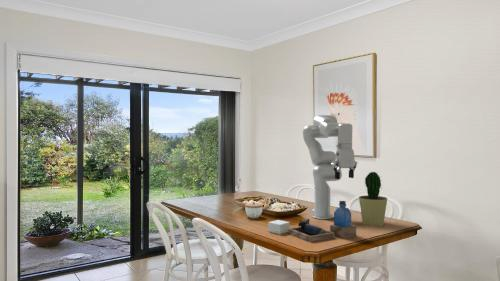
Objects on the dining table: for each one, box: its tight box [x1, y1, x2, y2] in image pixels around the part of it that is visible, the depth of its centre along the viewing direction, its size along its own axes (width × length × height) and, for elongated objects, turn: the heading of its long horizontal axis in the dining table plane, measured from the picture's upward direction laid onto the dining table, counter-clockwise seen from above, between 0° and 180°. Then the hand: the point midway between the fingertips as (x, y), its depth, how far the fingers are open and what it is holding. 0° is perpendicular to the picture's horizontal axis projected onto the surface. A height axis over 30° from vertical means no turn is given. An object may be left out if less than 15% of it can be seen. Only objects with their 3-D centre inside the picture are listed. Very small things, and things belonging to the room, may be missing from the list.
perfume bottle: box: [333, 200, 352, 227], centre depth 183 cm, size 6×6×12 cm
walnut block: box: [329, 224, 357, 240], centre depth 182 cm, size 9×9×5 cm
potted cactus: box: [358, 171, 388, 227], centre depth 208 cm, size 15×15×30 cm
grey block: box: [267, 219, 291, 235], centre depth 191 cm, size 8×8×5 cm
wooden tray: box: [287, 226, 336, 243], centre depth 183 cm, size 18×15×2 cm
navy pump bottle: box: [298, 218, 324, 236], centre depth 185 cm, size 9×8×12 cm
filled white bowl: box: [244, 201, 263, 219], centre depth 226 cm, size 11×11×9 cm
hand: (344, 178), depth 196 cm, fingers open, 9 cm apart
